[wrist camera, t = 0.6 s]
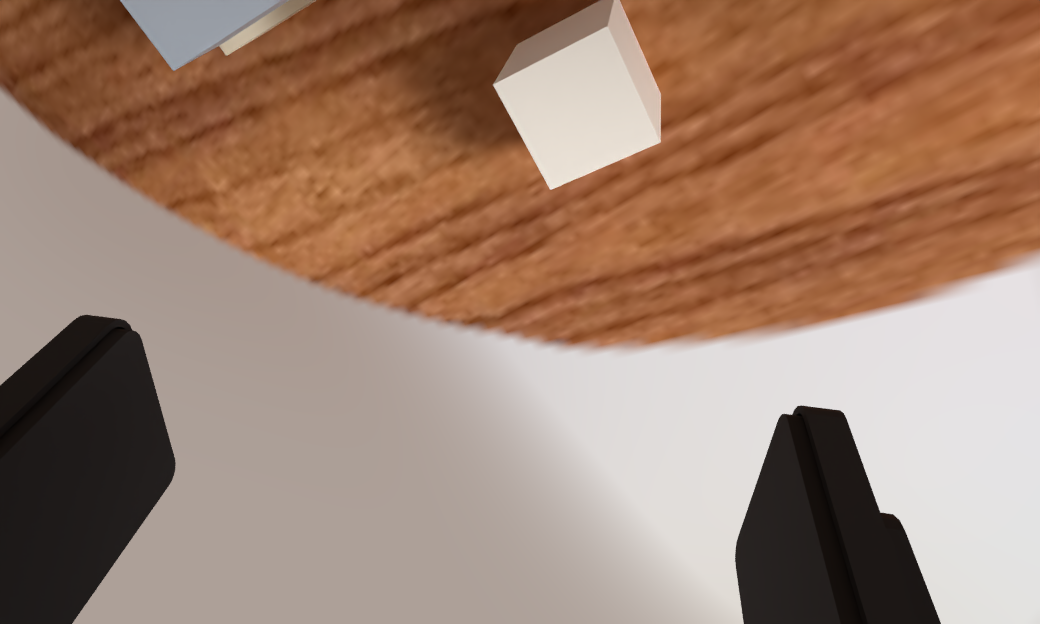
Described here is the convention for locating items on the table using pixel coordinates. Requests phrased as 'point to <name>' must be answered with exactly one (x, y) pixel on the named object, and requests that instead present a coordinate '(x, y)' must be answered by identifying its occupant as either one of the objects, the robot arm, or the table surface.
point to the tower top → (195, 24)
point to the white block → (582, 93)
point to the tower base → (264, 25)
